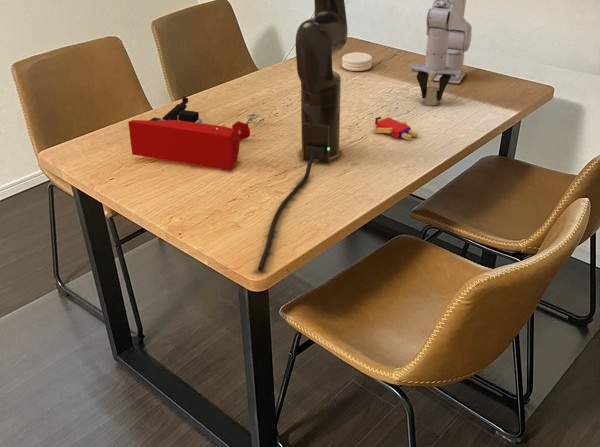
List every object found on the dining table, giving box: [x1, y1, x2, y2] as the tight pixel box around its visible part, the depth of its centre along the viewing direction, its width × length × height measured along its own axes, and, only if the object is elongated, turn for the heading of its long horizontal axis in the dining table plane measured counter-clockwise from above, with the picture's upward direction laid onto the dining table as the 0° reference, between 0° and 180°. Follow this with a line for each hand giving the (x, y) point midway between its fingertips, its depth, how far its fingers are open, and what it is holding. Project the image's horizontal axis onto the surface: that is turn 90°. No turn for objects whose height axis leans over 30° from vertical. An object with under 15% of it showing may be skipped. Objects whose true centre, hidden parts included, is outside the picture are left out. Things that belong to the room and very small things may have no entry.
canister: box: [424, 85, 440, 107], centre depth 179 cm, size 4×4×4 cm
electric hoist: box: [127, 96, 260, 171], centre depth 159 cm, size 10×27×30 cm
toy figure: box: [374, 116, 418, 141], centre depth 162 cm, size 2×7×12 cm
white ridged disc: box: [341, 52, 373, 72], centre depth 207 cm, size 10×10×4 cm
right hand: (431, 98), depth 180 cm, fingers closed on canister, 4 cm apart
